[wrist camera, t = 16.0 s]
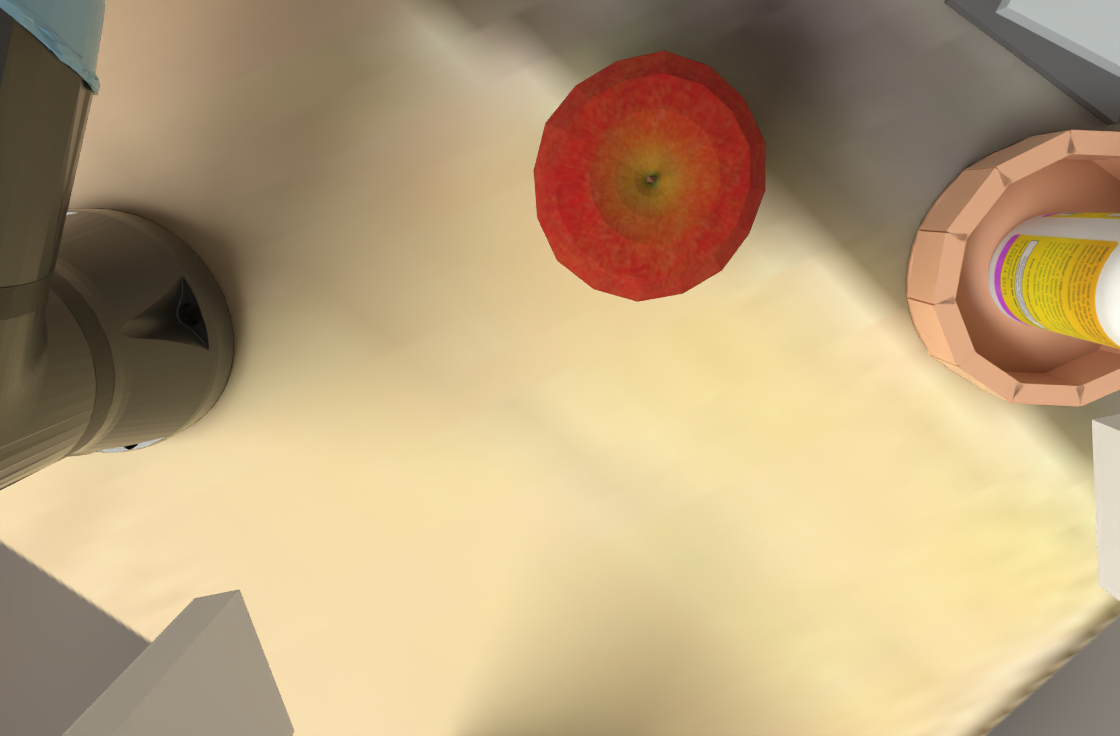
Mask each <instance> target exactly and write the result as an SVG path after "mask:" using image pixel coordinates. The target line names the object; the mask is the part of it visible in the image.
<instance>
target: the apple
mask: <svg viewBox="0 0 1120 736" xmlns="http://www.w3.org/2000/svg"><path fill="white" fill-rule="evenodd" d="M534 180H535V194H536V208H537V218H538V220H539V222H540V225H541V227H542V229H543V231H544V233H545V235H546V238H547V240H548V242H549V244H550V246H551V248H552V251H553V253H554V255H555V257H556V259H557V261H558V262H560V263H561V264H562V265H564V266H565V267H566V268H567V269H569V270H570V271H571V272H573V273H574V274H575V275H576V276H578V277H579V278H580V279H581V280H583V281H584V282H585V283H587V284H588V285H589V286H590V287H592V288H593V289H595V290H599V291H602V292H606V293H609V294H613V295H616V296H620V297H623V298H627V299H630V300H634V301H637V302H638V301H644V300H649V299H655V298H661V297H666V296H672V295H678V294H683V293H684V292H686V291H688V290H689V289H691V288H693V287H695V286H696V285H698V284H700V283H701V282H703V281H705V280H706V279H708V278H710V277H712V276H713V275H715V274H717V273H718V272H720V271H722V269H723V268H724V267H725V265H726V264H727V263H728V261H729V260H730V259H731V257H732V256H733V255H734V253H735V252H736V251H737V249H738V248H739V247H740V245H741V244H742V243H743V241H744V240H745V239H746V237H747V236H748V235H749V233H750V230H751V227H752V224H753V222H754V219H755V216H756V214H757V211H758V208H759V206H760V203H761V200H762V197H763V195H764V192H765V141H764V139H763V137H762V134H761V132H760V130H759V128H758V126H757V124H756V122H755V120H754V118H753V116H752V113H751V111H750V109H749V107H748V105H747V103H746V101H745V99H744V98H743V97H742V96H741V95H740V94H739V93H738V92H737V91H735V90H734V89H733V88H732V87H731V86H730V85H729V84H728V83H727V82H726V81H725V80H724V79H723V78H722V77H721V76H720V75H719V74H718V73H717V72H715V71H714V70H713V69H712V68H711V67H710V66H707V65H705V64H702V63H699V62H696V61H693V60H690V59H687V58H684V57H681V56H679V55H676V54H673V53H670V52H667V51H661V52H656V53H651V54H647V55H642V56H638V57H633V58H629V59H624V60H619V61H616V62H614V63H613V64H611V65H609V66H608V67H606V68H604V69H603V70H601V71H599V72H598V73H596V74H594V75H593V76H591V77H589V78H588V79H586V80H584V81H583V82H581V83H579V84H578V85H576V86H575V87H574V88H573V90H572V91H571V92H570V93H569V95H568V96H567V97H566V98H565V100H564V101H563V102H562V103H561V105H560V106H559V107H558V108H557V110H556V111H555V112H554V113H553V115H552V116H551V117H550V118H549V119H548V121H547V122H546V123H545V127H544V131H543V135H542V139H541V143H540V147H539V151H538V155H537V159H536V163H535V168H534Z"/></svg>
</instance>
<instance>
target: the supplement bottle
mask: <svg viewBox="0 0 1120 736" xmlns="http://www.w3.org/2000/svg"><path fill="white" fill-rule="evenodd" d="M988 287H989V292H990V295H991V297H992V299H993V301H994V303H995V304H996V305H997V307H998V308H999V309H1000V310H1001V311H1002V312H1003V313H1004V314H1005V315H1006V316H1008V317H1009V318H1011V319H1013V320H1015V321H1017V322H1019V323H1022V324H1026V325H1029V326H1032V327H1036V328H1041V329H1045V330H1048V331H1052V332H1056V333H1060V334H1064V335H1068V336H1072V337H1076V338H1079V339H1083V340H1087V341H1091V342H1095V343H1099V344H1102V345H1106V346H1110V347H1114V348H1117V349H1120V213H1079V212H1060V213H1048V214H1043V215H1039V216H1036V217H1033V218H1030V219H1028V220H1026V221H1024V222H1022V223H1021V224H1019V225H1018V226H1016V227H1015V228H1014V229H1012V230H1011V231H1010V232H1009V233H1008V234H1007V235H1006V236H1005V237H1004V238H1003V239H1002V240H1001V242H1000V243H999V245H998V246H997V248H996V249H995V251H994V253H993V255H992V258H991V261H990V264H989V269H988Z"/></svg>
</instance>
